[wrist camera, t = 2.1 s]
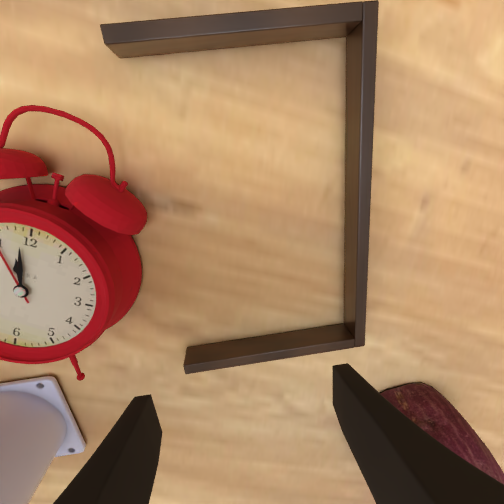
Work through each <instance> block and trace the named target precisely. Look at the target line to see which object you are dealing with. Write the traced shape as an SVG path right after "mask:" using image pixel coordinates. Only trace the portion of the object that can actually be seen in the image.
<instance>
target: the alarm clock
mask: <svg viewBox="0 0 504 504" xmlns="http://www.w3.org/2000/svg"><path fill="white" fill-rule="evenodd" d="M28 111H40V112H46V113H52V114H55V115H58V116H61V117H65V118H67V119H69V120H72V121H74V122H76V123H79V124H80V125H82V126H84V127H86V128H87V129H89V130H90V131H91V132H93V133H94V134H95V135H96V136H97V137H98V138H99V139H100V140H101V141H102V143H103V145H104V146H105V148H106V150H107V153H108V157H109V164H110V180H109V179H107V178H105V177H101V176H98V175H91V174H84V175H81V176H78V177H76V178H74V179H73V180H72V181H71V182H70V183H69V184H68V186H67V187H66V188H64V187H60V186H59V181H63V179H64V176H63V175H60V174H57V173H54V172H53V173H52V176H51V177H52V178H54V179H55V182H54V185H49V184H32V182H31V179H30V177H39V176H47V175H48V171H47V168H46V165H45V163H44V162H43V161H42V160H41V159H40V158H39V157H38V156H36V155H34V154H32V153H29V152H26V151H21V150H15V149H5V148H3V147H4V146H5V142H6V139H7V136H8V132H9V129H10V127H11V124H12V122H13V121H14V120H15V118H16V117H17V116H18V115H20V114H23V113H25V112H28ZM10 178H26V181H27V184H28V185H22V186H17V187H12V188H8V189H5V190H2V191H0V360H4V361H9V362H14V363H23V364H41V363H49V362H55V361H59V360H63V359H65V358H68V357H69V358H70V360H71V363H72V365H73V366H74V368H75V370H76V372H77V374H78V376H77V380H79V381H81V380H83V379H84V377H85V375H84V373H81V371H80V368H79V366H78V361H77V359H76V356H75V354H77V353H79V352H80V351H82V350H83V349H85V348H87V347H88V346H90V345H91V344H92V343H93V342H95V341H96V340H97V339H98V338H99V337H100V336H101V335H102V333H103V332H104V331H105V330H106V329H108V328H109V327H111V326H113V325H114V324H116V323H117V322H118V321H119V320H120V319H122V318H123V317H124V316H125V314H126V313H127V312H128V311H129V309H130V308H131V306H132V305H133V303H134V301H135V299H136V297H137V295H138V293H139V289H140V285H141V279H142V268H141V260H140V256H139V253H138V250H137V247H136V245H135V242H134V240H133V239H132V237H131V235H135V234H139V233H140V231H141V230H142V229H143V227H144V226H145V224H146V222H147V212H146V210H145V208H144V206H143V205H142V203H141V202H140V201H139V200H138V199H137V198H136V197H135V196H134V195H133V194H132V193H130V192H129V191H128V190H126V189H125V188H126V186H127V185H128V183H127V182H126V181H122V183H121V184H120V185H119V184H117V183H116V182H115V161H114V155H113V152H112V148H111V146H110V145H109V143H108V142H107V140H106V139H105V137H104V136H103V135H102V134H101V133H100V132H99V131H98V130H97V129H95V128H94V127H93V126H92V125H90V124H88V123H87V122H85V121H83V120H82V119H80V118H77V117H75V116H73V115H71V114H68V113H66V112H64V111H60V110H56V109H53V108H49V107H45V106H35V105H29V106H22V107H19V108H17V109H15V110H13V111H12V112H11V113H10V114H9V115H8V116H7V118H6V120H5V122H4V124H3V128H2V131H1V135H0V179H10Z"/></svg>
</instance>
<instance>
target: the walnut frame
mask: <svg viewBox="0 0 504 504" xmlns="http://www.w3.org/2000/svg"><path fill="white" fill-rule="evenodd" d="M378 4H379V2H378V0H375V1H364V2H362V1H361V2H350V3H339V4H327V5H316V6H305V7H293V8H282V9H271V10H259V11H248V12H237V13H225V14H214V15H203V16H191V17H180V18H169V19H157V20H146V21H135V22H123V23H112V24H101V25H100V27H101V31H102V35H103V39H104V43H105V45H106V46H107V47H108V48H109V49H110V50H112V51H113V52H114V53H115V54H116V55H117V56H118V57H119V58H126V57H137V56H148V55H158V54H169V53H179V52H190V51H200V50H211V49H221V48H232V47H242V46H253V45H263V44H274V43H284V42H295V41H305V40H316V39H326V38H337V37H346V36H347V61H346V175H345V289H344V324H337V325H331V326H324V327H318V328H311V329H305V330H298V331H291V332H285V333H278V334H272V335H265V336H259V337H252V338H246V339H239V340H232V341H226V342H219V343H213V344H206V345H200V346H193V347H187V350H186V355H185V360H184V370H185V374H190V373H196V372H203V371H209V370H215V369H222V368H228V367H234V366H241V365H247V364H253V363H260V362H266V361H272V360H279V359H285V358H291V357H298V356H304V355H310V354H317V353H323V352H330V351H336V350H342V349H349V348H354V347H360V346H364V345H365V325H366V300H367V276H368V251H369V226H370V201H371V177H372V152H373V127H374V103H375V78H376V53H377V28H378Z"/></svg>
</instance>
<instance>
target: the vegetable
mask: <svg viewBox="0 0 504 504" xmlns="http://www.w3.org/2000/svg"><path fill="white" fill-rule="evenodd" d="M380 394H381V395H382V396H383V397H384V398H385V399H387V400H388V401H389V402H390V403H391V404H392V405H394V406H395V407H396V408H397V409H398V410H399V411H401V412H402V413H403V414H404V415H405V416H406V417H408V418H409V419H410V420H411V421H413V422H414V423H415V424H416V425H418V426H419V427H420V428H421V429H423V430H424V431H425V432H427V433H428V434H429V435H431V436H432V437H433V438H435V439H436V440H437V441H439V442H440V443H441V444H443V445H444V446H446V447H447V448H448V449H450V450H451V451H453V452H454V453H455V454H457V455H458V456H460V457H461V458H463V459H464V460H466V461H467V462H469V463H470V464H472V465H473V466H475V467H477V468H478V469H480V470H481V471H483V472H485V473H486V474H488V475H489V476H491V477H493V478H494V479H496V480H497V481H499V482H501V483H502V484H504V473H503V471H502V469H501V468H500V466H499V465H498V463H497V462H496V460H495V458H494V457H493V455H492V454H491V452H490V451H489V449H488V448H487V447H486V445H485V443H483V442H482V440H481V439H480V438H479V436H478V435H477V434H476V432H475V431H474V430H473V429H472V428H471V426H470V425H469V424H468V423H467V421H466V420H465V419H464V418H463V417H462V415H461V414H460V413H459V412H458V411H457V410H456V409H455V408H454V406H453V405H452V404H451V403H450V402H449V401H448V400H446V399H445V398H444V397H443V396H442V395H441V394H440V393H439V392H438V391H437V390H435V389H434V388H433V387H431V386H428V385H425V384H424V383H418V384H416V383H413V384H407V385H403V386H400V387H397V388H393V389H389V390H386V391H384V392H382V393H380Z"/></svg>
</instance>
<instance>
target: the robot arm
mask: <svg viewBox="0 0 504 504" xmlns="http://www.w3.org/2000/svg"><path fill="white" fill-rule="evenodd" d="M41 383H42V384H41ZM333 406H334V409H335V412H336V415H337V418H338V420H339V423H340V426H341V429H342V431H343V434H344V436H345V438H346V440H347V442H348V444H349V446H350V449H351V451H352V453H353V455H354V457H355V459H356V461H357V463H358V466H359V468H360V470H361V472H362V474H363V476H364V478H365V480H366V482H367V484H368V487H369V489H370V491H371V493H372V495H373V497H374V499H375V502H376V504H504V484H502V483H501V482H499V481H497V480H496V479H494V478H493V477H491V476H489V475H488V474H486V473H485V472H483V471H481V470H480V469H478V468H477V467H475V466H473V465H472V464H470V463H469V462H467V461H466V460H464V459H463V458H461V457H460V456H458V455H457V454H455V453H454V452H453V451H451V450H450V449H448V448H447V447H446V446H444V445H443V444H441V443H440V442H439V441H437V440H436V439H435V438H433V437H432V436H431V435H429V434H428V433H427V432H425V431H424V430H423V429H421V428H420V427H419V426H418V425H416V424H415V423H414V422H413V421H411V420H410V419H409V418H408V417H406V416H405V415H404V414H403V413H402V412H401V411H399V410H398V409H397V408H396V407H395V406H394V405H392V404H391V403H390V402H389V401H388V400H387V399H385V398H384V397H383V396H382V395H381V394H380V393H379V392H378V391H377V390H375V389H374V388H373V387H372V386H371V385H370V384H369V383H368V382H367V381H366V380H365V379H364V378H363V377H362V376H361V375H360V374H358V373H357V372H356V371H355V370H354V369H353V368H352V367H351V366H350V365H349V364H348V363H347V364H341V365H334V366H333ZM161 438H162V430H161V426H160V423H159V420H158V417H157V413H156V410H155V407H154V403H153V400H152V397H151V394H150V395H144V396H137V397H134V398H133V400H132V401H131V402H130V404H129V405H128V407H127V408H126V410H125V411H124V412H123V414H122V415H121V417H120V418H119V419H118V421H117V422H116V424H115V425H114V426H113V428H112V429H111V431H110V432H109V433H108V435H107V436H106V437H105V439H104V440H103V441H102V443H101V444H100V446H99V447H98V448H97V450H96V451H95V452H94V454H93V455H92V456H91V458H90V459H89V460H88V461H87V463H86V464H85V465H84V467H83V468H82V469H81V470H80V472H79V473H78V474H77V475H76V477H75V478H74V479H73V480H72V482H71V483H70V484H69V485H68V487H67V488H66V489H65V490H64V491H63V493H62V494H61V495H60V496H59V497H58V499H57V500H56V501H55V502H54V503H53V504H149V500H150V496H151V492H152V488H153V483H154V479H155V475H156V471H157V466H158V461H159V454H160V446H161ZM85 447H86V443H85V441H84V439H83V437H82V435H81V432H80V430H79V428H78V426H77V424H76V422H75V419H74V417H73V415H72V413H71V411H70V408H69V406H68V404H67V402H66V400H65V397H64V395H63V393H62V391H61V389H60V386H59V384H58V382H57V380H56V379H55V378H54V377H52V376H45V377H38V378H32V379H25V380H19V381H12V382H6V383H0V504H28V503H29V502H30V500H31V498H32V496H33V495H34V493H35V491H36V489H37V487H38V486H39V484H40V482H41V480H42V478H43V477H44V475H45V473H46V471H47V469H48V468H49V466H50V464H51V462H52V461H53V459H54V457H59V456H64V455H70V454H76V453H81V452H83V451H84V449H85Z"/></svg>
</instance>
